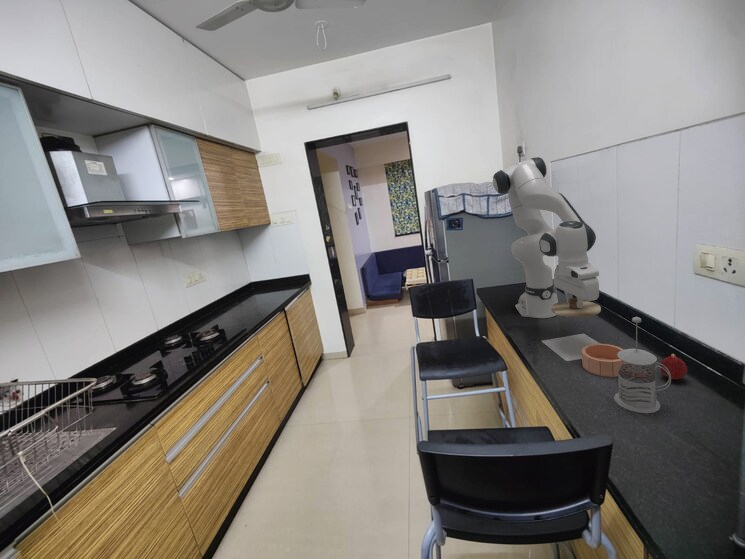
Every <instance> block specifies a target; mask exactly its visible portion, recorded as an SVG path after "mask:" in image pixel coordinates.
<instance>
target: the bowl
mask: <svg viewBox="0 0 745 559" xmlns="http://www.w3.org/2000/svg"><path fill="white" fill-rule="evenodd" d="M622 350H625V349H624V348H622V347H620V346H616V345H613V344H608V343H600V344H591V345H586V346H585V347H583V348H582V359H581V361H582V362H581V363H582V368H583V369H584V370H586V371H587V372H589V373H591V374H594V375H597V376H601V377H609V378H610V377H611V378H615V377H618V372H619V370H620V366H621V365H623V364H628V363H626V362H623V361H622V360H620V359H619V358H618V355H617V354H618V352H619V351H622Z"/></svg>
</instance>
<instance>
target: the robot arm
mask: <svg viewBox="0 0 745 559" xmlns="http://www.w3.org/2000/svg"><path fill="white" fill-rule="evenodd" d="M547 169H548V168H547V165H546V162H545V160H544V159H543V158H542V157H539V156H538V157H537V156H536V157H532V158H530V159H525V160H523V161H519V162H516V163H515V164H512V165H510V166H507V167H506V168H503V169H500V170H498V171H497V172H495V173H494V174H493V176H492V186H493V188H494V190H495V192H496V193H498V194H500V195H504V194H507V196H508V203H509V206H510V210H511V214H512V216H513V220H514V222H515V225H516V226H517V227H518V228H519V229H522V230H524V232H526V234H527V235H525V236H521V237H520V238H518V239H516V240H514V241H513V242H512V244H511V246H510V253H511V254H512V257H513V258H514V259H515V260H516V261H519V262H520V263H521V265H522V267H523V268H524V274H525V282H526V284H525V286H524V287H525V288H524V289H525V290H524V292H523V293H522V294H521V295H520V297H519V299H518V303H517V304H515V306H514V307H515V308H516V309H517V311H518V313H519V314H520V315H521V317H524V318H525V317H526V318H527V317H528V318H529V317H530V318H536V319H546V318H553V317H555V316H558V315H557V314H555V313H553V312H552V309H551V307H552V305H554V304H556V303H558V302H559V300H558V294H557V293H555V288H556V289H558V290H561V291H563V292H564V295H565V298H566V301H567V302H568V303H569V299H571V298H574V297H576V298H577V299H578V300H577V302H575V304H576V307H578V308H582V307H583V302H584V301H588V302H593V301H596V300H598V298H599V297H600V284H599V279H598V278H597V277H599V275H600V272H599V270H598V269H597V268H595V266H593V265H592V264H591V263H590V262H589V257H588V254H587V252H589V251H590V250H591V249H593V247H594V245H595V243H596V239H597V236H596V233H595V231H594V229H593V228H592V227H591V226H590V225H588V223H586V222H585V221H584V219H583V218H582V217H581V216H580V214H579V213H578V211H577V210H576V209H575V208H574V207H573V205H572V204H571V203H570V201H569V200H568V199H567V198H566V196H564V194H562V193H560V192H559V191H556V189H554V188H552V187H551V186H550V185H549V184H548V183H547V181H546V179H545V177H546V175H547V173H548V172H547ZM541 211H548V212H551V213H553V214H556V215H557V216H558V217H559V219H560V220H561V221H562V222H561V223H559V224H558V225H557V227H556V228H554V229H553V228H552V227H551V226H549V225H548V224H547V222H546V220H545V219H544V218H543V215H542V212H541ZM544 256H546V257H558V260H557V263H558V264H557V265H556V266H555V270H554V273H553V270H552V268H551V267H550V266H549V265H547V264H546V263H545V262H544V259H543V257H544ZM573 296H574V297H573Z"/></svg>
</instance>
